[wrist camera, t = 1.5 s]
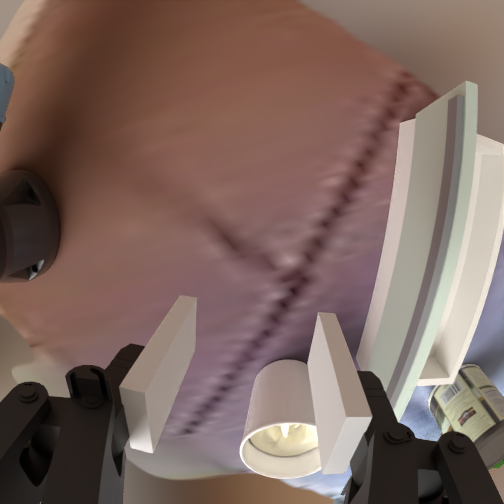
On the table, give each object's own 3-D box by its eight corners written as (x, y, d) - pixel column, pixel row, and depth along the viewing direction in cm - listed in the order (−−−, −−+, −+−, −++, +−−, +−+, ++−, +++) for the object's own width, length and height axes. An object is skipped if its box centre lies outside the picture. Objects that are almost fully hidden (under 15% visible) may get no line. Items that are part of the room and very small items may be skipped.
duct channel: (355, 357, 37) (366, 386, 32) (399, 123, 30) (423, 116, 24) (434, 358, 37) (452, 383, 31) (483, 148, 29) (513, 148, 24)
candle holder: (233, 387, 40) (220, 456, 28) (282, 339, 37) (284, 407, 26) (289, 420, 41) (291, 487, 29) (339, 378, 38) (357, 445, 27)
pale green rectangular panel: (366, 387, 31) (355, 385, 32) (423, 115, 24) (410, 112, 24) (372, 469, 20) (357, 468, 20) (477, 84, 13) (458, 78, 13)
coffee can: (463, 414, 40) (496, 471, 26) (416, 414, 40) (446, 481, 26) (492, 363, 37) (538, 417, 23) (447, 360, 37) (493, 424, 23)
